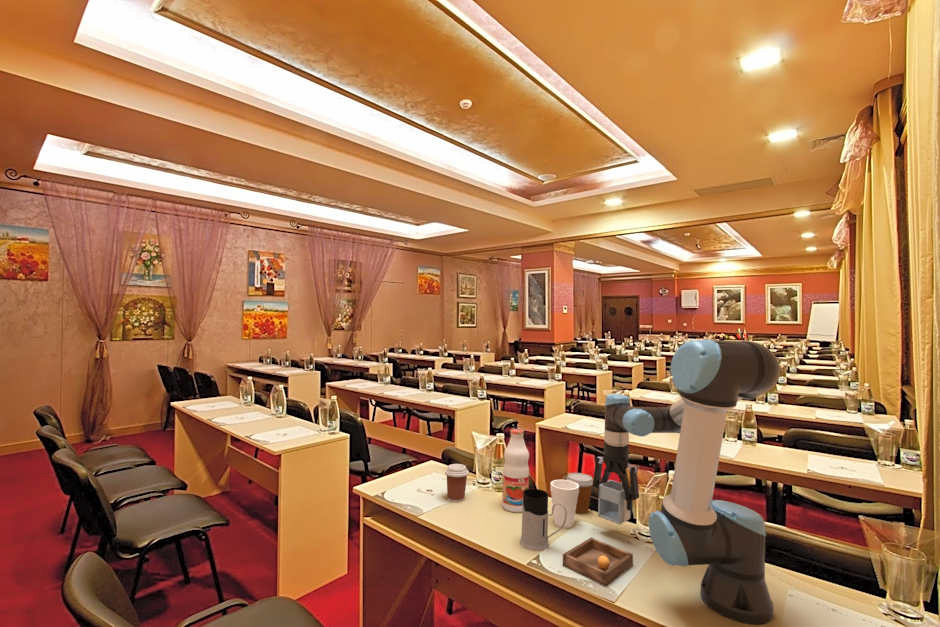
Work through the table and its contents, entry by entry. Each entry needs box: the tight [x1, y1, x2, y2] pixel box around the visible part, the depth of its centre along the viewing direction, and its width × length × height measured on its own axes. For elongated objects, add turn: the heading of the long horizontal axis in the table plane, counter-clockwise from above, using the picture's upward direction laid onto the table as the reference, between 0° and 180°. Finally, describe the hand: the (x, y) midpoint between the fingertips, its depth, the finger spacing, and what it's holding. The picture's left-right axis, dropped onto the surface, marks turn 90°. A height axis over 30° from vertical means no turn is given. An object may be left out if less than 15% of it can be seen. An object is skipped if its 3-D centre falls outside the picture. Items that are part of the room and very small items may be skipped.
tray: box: [562, 537, 634, 587], centre depth 122 cm, size 13×15×3 cm
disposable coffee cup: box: [566, 472, 593, 515], centre depth 159 cm, size 10×10×12 cm
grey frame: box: [597, 479, 632, 525], centre depth 140 cm, size 7×7×10 cm
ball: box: [597, 556, 610, 569], centre depth 119 cm, size 3×3×3 cm
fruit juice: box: [501, 428, 530, 513], centre depth 160 cm, size 9×9×28 cm
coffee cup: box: [444, 463, 470, 503], centre depth 166 cm, size 9×9×12 cm
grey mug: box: [519, 488, 567, 551], centre depth 132 cm, size 9×14×15 cm, turn 59°
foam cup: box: [549, 479, 579, 529], centre depth 148 cm, size 10×9×13 cm
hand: (614, 515), depth 140 cm, fingers closed on grey frame, 7 cm apart
